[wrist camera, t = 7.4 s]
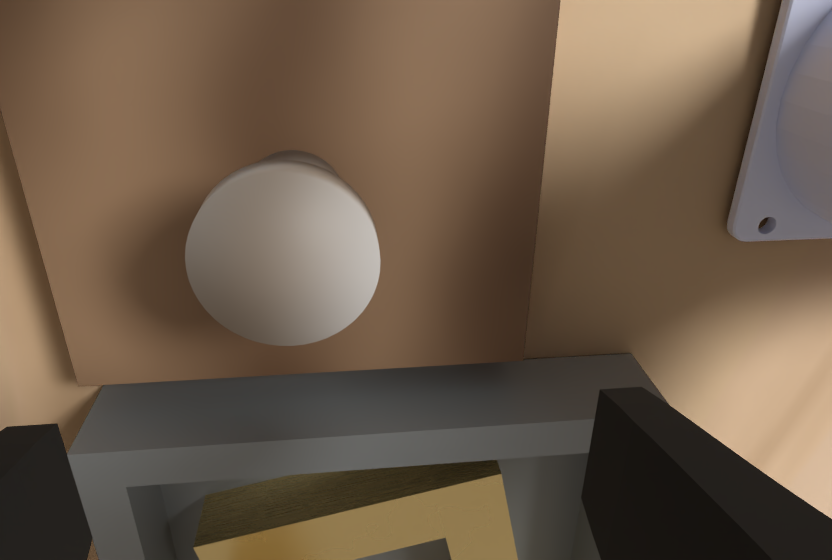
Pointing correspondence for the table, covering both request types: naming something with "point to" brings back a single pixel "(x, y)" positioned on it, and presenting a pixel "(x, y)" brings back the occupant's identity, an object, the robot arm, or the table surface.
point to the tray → (345, 444)
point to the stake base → (251, 92)
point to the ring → (361, 514)
